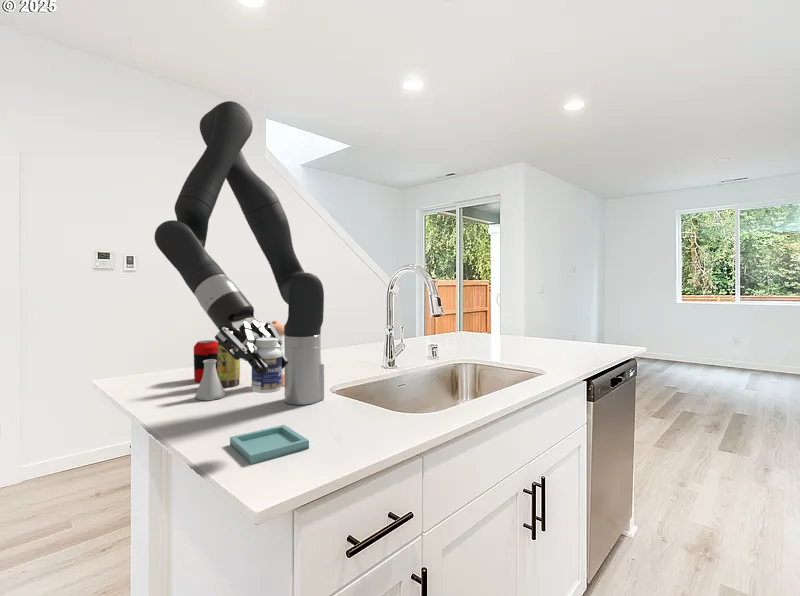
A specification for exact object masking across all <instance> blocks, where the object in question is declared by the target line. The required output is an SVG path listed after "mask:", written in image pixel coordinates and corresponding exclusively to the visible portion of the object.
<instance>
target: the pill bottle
mask: <svg viewBox="0 0 800 596" xmlns="http://www.w3.org/2000/svg"><path fill="white" fill-rule="evenodd" d="M277 346H278V339H277V338H264V337H262V338H258V339H256V346H255V348H256V349H255V350H256V352H255V353H258V354H259V355H260V356H261V358H262V359H263V360H264V362H265V363H266V364H267V365H268V370H267V371H266V372H265V373H264V374H263V375H258V373H257V372H255V370H254V369H253V368H252V367H251V391H253V393H259V394H272V393H276V392H279V391H280V390H281V389H282V387H281V378H282V353H281V351H280V350H278V349H277Z"/></svg>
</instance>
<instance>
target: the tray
mask: <svg viewBox="0 0 800 596" xmlns="http://www.w3.org/2000/svg"><path fill="white" fill-rule="evenodd" d="M229 445H230V446H231V447H232V448H233V449H234V450H235V451H236V452H237V453H238V454H239V455H240V456H241V457H242V458H244V459H245V460H246V461H247V462H248V463H249V464H250V465H252V464H253V465H254V464H257V463H261V462H264V461H268V460H271V459H275V458H279V457H282V456H285V455H286V456H287V455H289V454H290V455H291V454H293V453H296V452H299V451H301V452H302V451H305V450H308V449H310V440H309V439H308V438H306V437H305V436H303V435H302V434H300V433H298V432H296V431H295V430H294V429H292V428H290V427H289V426H287V425H285V424H281V425H277V426H274V427H268V428H264V429H260V430H256V431H250V432H246V433H242V434H238V435H234V436H229Z"/></svg>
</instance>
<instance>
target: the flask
mask: <svg viewBox="0 0 800 596" xmlns="http://www.w3.org/2000/svg"><path fill="white" fill-rule="evenodd" d="M216 362H217V360H215V359H209V360H204V361H203V363H204V372H203V376H202V379H201V382H199V384H198V388H197V391H196V393H195V396H194V399H196V400H199V401H212V400H218V399H221V398H224V397H226V396H227V394H226V392H225V390H224V387H222V385H221V383H220V380H219V378H218V375H217V372H216Z"/></svg>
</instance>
